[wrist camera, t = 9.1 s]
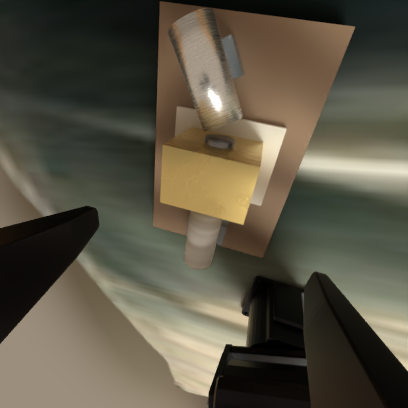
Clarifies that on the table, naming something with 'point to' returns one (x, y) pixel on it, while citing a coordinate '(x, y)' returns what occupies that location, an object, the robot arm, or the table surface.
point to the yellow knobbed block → (210, 173)
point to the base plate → (249, 117)
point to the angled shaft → (208, 67)
